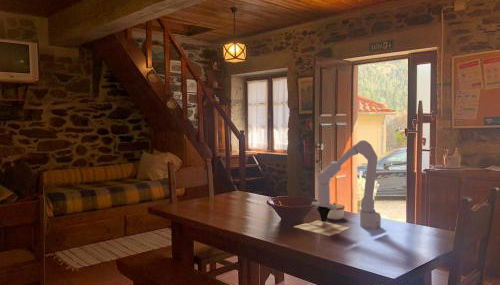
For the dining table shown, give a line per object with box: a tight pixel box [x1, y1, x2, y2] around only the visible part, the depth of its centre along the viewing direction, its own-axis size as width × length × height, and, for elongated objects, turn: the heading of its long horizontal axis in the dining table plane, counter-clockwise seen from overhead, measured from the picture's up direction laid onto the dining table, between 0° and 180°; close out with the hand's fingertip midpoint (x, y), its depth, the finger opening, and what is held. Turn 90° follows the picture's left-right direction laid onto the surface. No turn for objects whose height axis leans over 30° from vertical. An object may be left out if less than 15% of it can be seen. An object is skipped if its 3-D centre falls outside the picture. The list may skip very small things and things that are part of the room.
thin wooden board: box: [293, 222, 342, 237], centre depth 191 cm, size 22×10×1 cm, turn 42°
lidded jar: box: [327, 202, 345, 220], centre depth 214 cm, size 11×11×9 cm
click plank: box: [307, 220, 351, 232], centre depth 198 cm, size 20×8×1 cm, turn 42°
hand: (323, 221), depth 203 cm, fingers closed
